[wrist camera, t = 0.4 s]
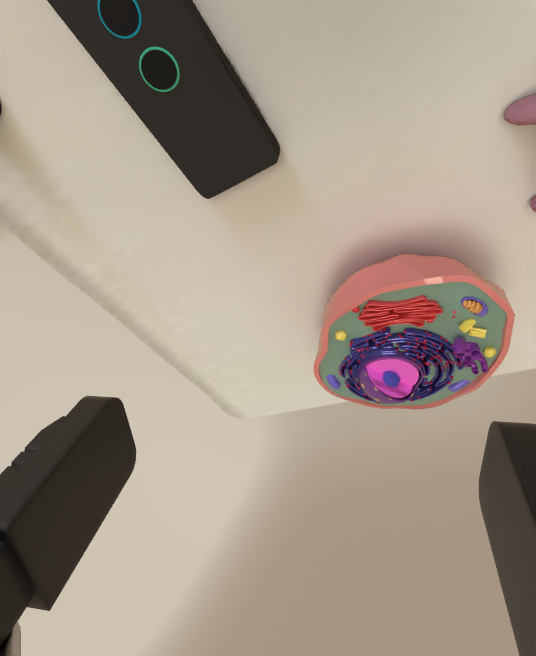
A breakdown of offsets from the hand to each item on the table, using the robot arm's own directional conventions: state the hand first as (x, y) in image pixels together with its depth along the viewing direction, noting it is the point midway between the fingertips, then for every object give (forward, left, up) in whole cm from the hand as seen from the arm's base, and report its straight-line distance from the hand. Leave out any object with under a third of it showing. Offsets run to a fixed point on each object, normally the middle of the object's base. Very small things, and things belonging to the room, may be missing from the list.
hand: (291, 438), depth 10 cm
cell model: (+22, -12, -31) cm, 40 cm away
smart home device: (-8, -10, -31) cm, 33 cm away
